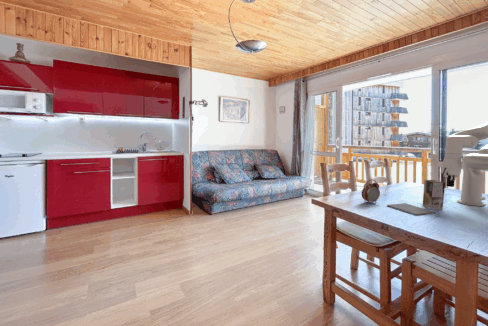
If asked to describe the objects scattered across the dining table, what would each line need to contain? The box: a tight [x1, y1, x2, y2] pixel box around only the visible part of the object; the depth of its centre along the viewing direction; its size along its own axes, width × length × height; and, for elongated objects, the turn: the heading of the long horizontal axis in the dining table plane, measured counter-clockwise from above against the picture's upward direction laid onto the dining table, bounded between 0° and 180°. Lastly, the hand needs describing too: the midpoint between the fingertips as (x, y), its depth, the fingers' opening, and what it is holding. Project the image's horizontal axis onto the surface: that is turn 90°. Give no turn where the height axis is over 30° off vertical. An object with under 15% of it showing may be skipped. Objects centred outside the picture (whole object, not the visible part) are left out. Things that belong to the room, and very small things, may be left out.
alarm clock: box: [361, 179, 381, 203], centre depth 148 cm, size 11×5×15 cm, turn 105°
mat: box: [386, 202, 436, 216], centre depth 135 cm, size 14×18×1 cm
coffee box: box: [422, 179, 446, 211], centre depth 138 cm, size 9×6×16 cm
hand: (450, 186), depth 141 cm, fingers closed
